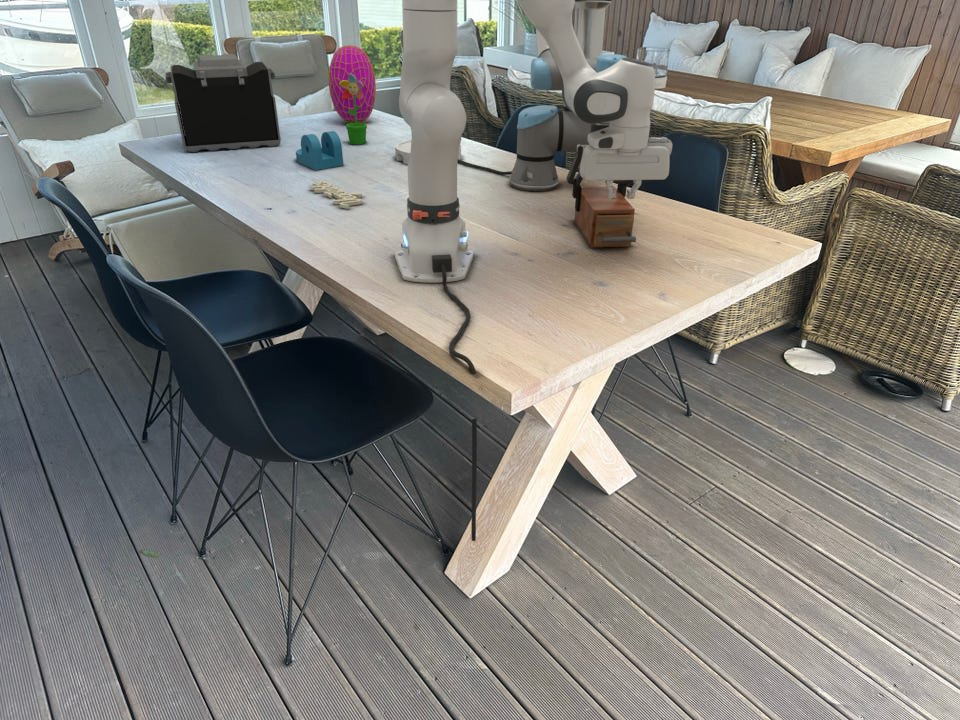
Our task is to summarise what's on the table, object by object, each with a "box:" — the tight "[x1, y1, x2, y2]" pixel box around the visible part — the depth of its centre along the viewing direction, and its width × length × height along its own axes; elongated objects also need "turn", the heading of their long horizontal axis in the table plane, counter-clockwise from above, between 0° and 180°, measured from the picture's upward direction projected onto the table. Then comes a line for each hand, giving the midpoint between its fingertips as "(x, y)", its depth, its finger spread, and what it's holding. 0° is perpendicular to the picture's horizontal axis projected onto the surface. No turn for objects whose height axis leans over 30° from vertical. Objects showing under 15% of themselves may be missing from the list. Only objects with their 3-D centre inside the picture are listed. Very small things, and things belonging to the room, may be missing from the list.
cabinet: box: [573, 185, 636, 248], centre depth 177 cm, size 20×10×10 cm, turn 5°
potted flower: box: [339, 73, 368, 145], centre depth 255 cm, size 9×8×25 cm
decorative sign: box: [310, 180, 363, 210], centre depth 204 cm, size 26×1×10 cm
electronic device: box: [164, 53, 282, 153], centre depth 252 cm, size 37×22×30 cm, turn 111°
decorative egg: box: [328, 44, 377, 124], centre depth 286 cm, size 19×19×30 cm
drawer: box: [594, 214, 637, 248], centre depth 172 cm, size 23×9×8 cm, turn 5°
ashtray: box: [394, 139, 462, 165], centre depth 243 cm, size 23×23×4 cm
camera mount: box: [295, 130, 344, 171], centre depth 234 cm, size 18×10×10 cm, turn 39°
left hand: (621, 198), depth 160 cm, fingers open, 3 cm apart
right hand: (597, 209), depth 182 cm, fingers closed on cabinet, 10 cm apart
